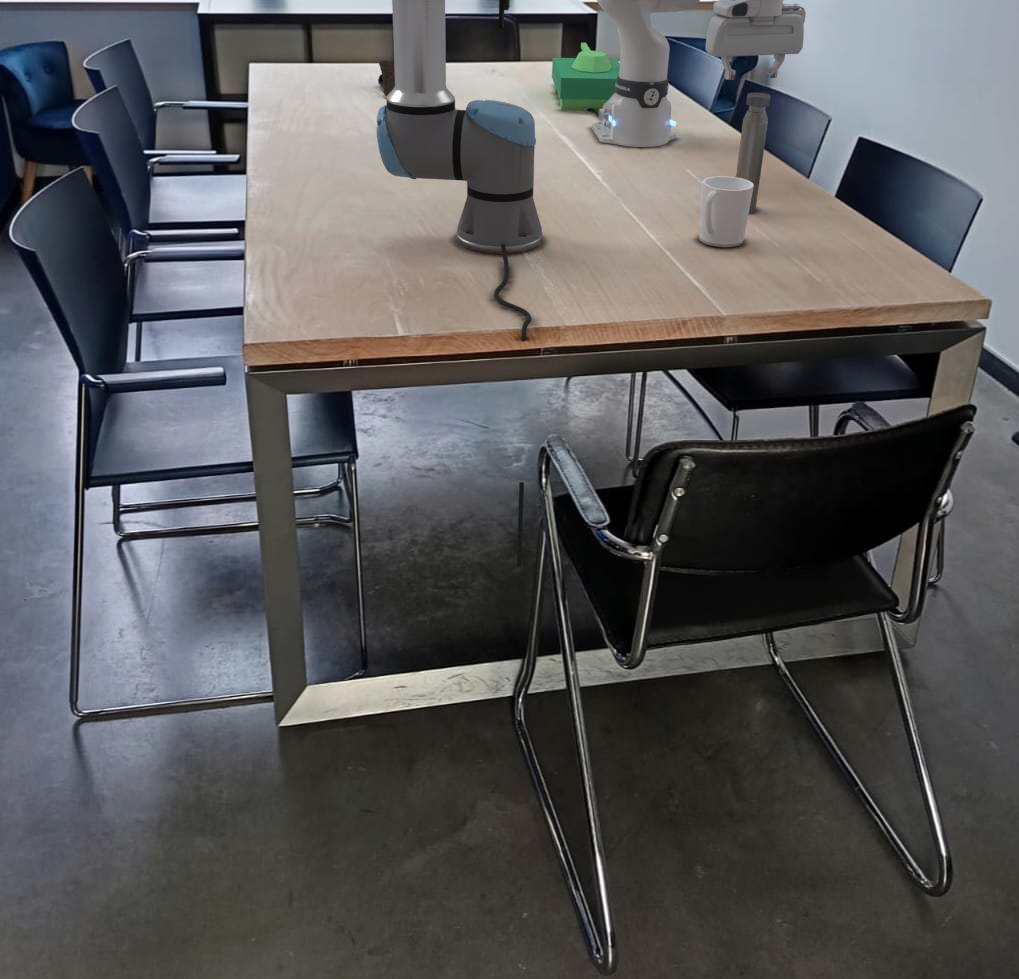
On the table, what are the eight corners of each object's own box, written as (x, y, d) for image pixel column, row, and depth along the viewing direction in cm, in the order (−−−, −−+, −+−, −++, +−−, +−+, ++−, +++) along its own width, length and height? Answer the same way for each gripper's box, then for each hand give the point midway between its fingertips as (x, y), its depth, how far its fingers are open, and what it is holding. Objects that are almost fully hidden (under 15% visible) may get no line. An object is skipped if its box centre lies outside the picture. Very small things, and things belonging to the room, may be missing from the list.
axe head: (443, 87, 294) (392, 77, 287) (436, 115, 299) (385, 106, 292) (421, 62, 307) (371, 52, 300) (414, 89, 311) (365, 80, 304)
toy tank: (614, 39, 306) (631, 63, 276) (610, 85, 312) (627, 113, 282) (551, 38, 305) (561, 62, 275) (549, 84, 311) (559, 112, 281)
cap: (752, 107, 202) (753, 97, 201) (741, 102, 205) (743, 93, 204) (773, 106, 203) (774, 96, 202) (762, 101, 206) (763, 92, 206)
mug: (712, 228, 203) (718, 173, 198) (754, 239, 198) (762, 182, 193) (680, 243, 196) (686, 186, 191) (724, 254, 191) (731, 196, 186)
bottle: (738, 213, 212) (753, 100, 201) (727, 206, 216) (741, 95, 205) (759, 212, 213) (775, 99, 202) (748, 205, 217) (763, 94, 206)
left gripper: (534, -91, 215) (530, 25, 226) (409, -94, 217) (412, 20, 229) (530, -88, 209) (526, 31, 220) (401, -92, 211) (405, 26, 222)
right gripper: (798, 1, 220) (788, 73, 227) (706, 3, 215) (698, 77, 222) (814, 5, 215) (804, 79, 222) (720, 7, 210) (712, 83, 217)
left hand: (468, 26), depth 224 cm, fingers open, 13 cm apart
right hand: (750, 78), depth 222 cm, fingers open, 8 cm apart
